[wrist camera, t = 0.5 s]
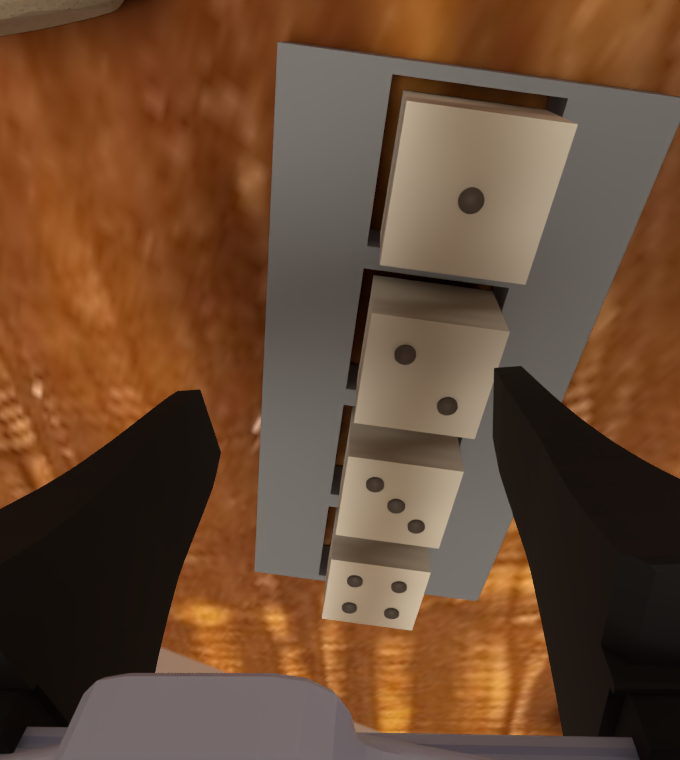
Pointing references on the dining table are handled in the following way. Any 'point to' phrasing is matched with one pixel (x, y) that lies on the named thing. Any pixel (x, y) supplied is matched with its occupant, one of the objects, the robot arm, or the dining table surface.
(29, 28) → the ceramic mug
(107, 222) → the dining table surface
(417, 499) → the beige small block
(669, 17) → the dining table surface
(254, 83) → the dining table surface
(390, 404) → the cream dice block
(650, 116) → the grey slotted tray
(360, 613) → the beige square block
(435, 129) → the key
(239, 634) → the dining table surface
